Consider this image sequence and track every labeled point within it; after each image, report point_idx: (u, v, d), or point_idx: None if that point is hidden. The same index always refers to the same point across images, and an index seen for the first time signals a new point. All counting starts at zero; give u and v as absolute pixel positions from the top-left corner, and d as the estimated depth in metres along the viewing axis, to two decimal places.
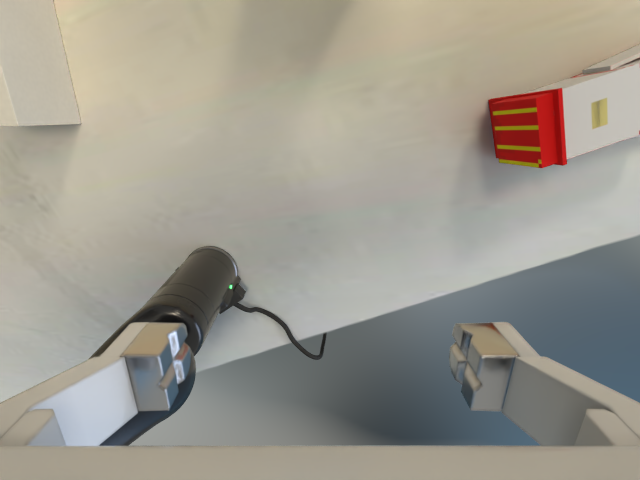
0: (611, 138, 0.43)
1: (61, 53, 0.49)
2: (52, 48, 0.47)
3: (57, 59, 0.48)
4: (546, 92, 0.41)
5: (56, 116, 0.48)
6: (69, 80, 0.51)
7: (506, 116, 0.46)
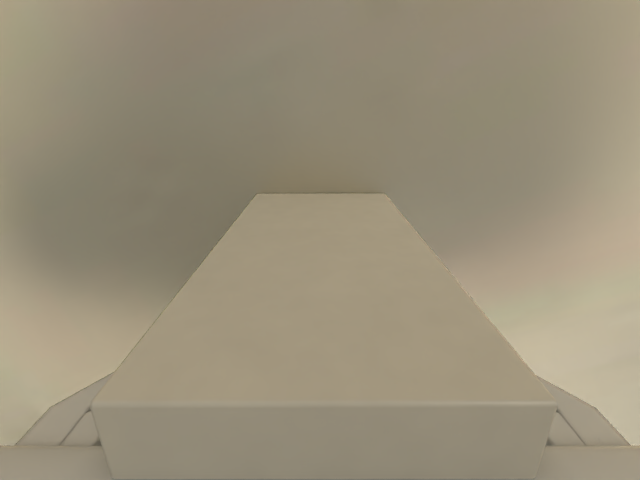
0: None
1: None
2: None
3: None
4: None
5: None
6: None
7: None
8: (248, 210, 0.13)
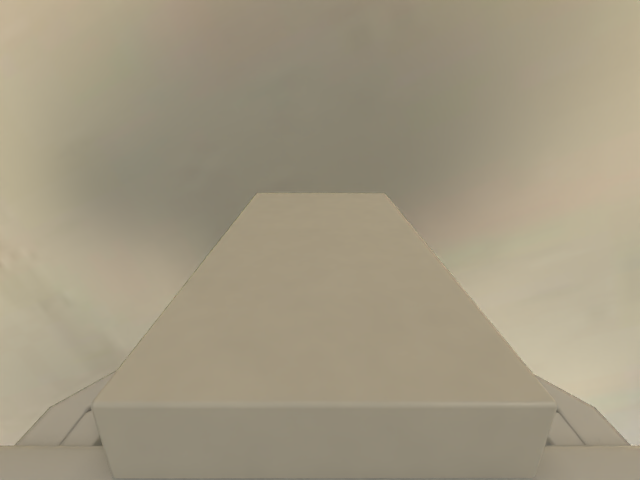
0: None
1: None
2: None
3: None
4: None
5: None
6: None
7: None
8: (248, 210, 0.13)
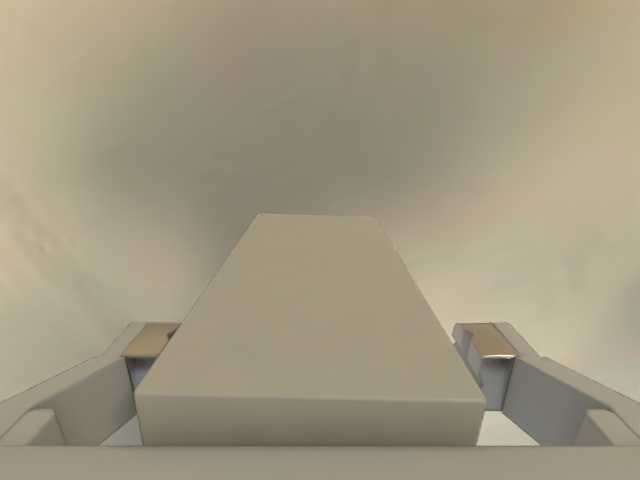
0: None
1: None
2: None
3: None
4: None
5: None
6: None
7: None
8: (251, 230, 0.14)
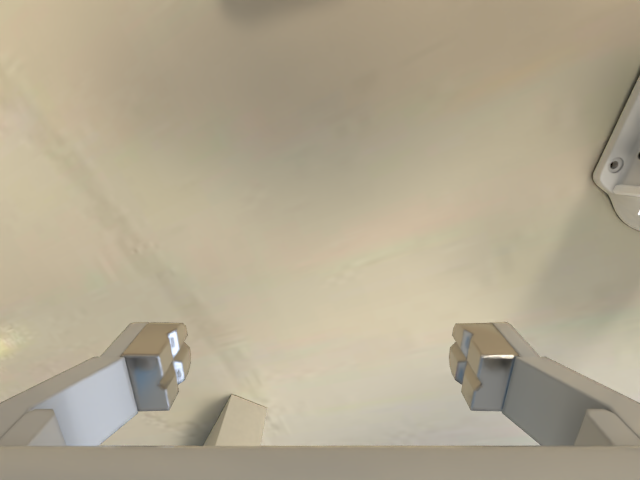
0: None
1: None
2: None
3: None
4: None
5: None
6: None
7: None
8: (227, 410, 0.47)
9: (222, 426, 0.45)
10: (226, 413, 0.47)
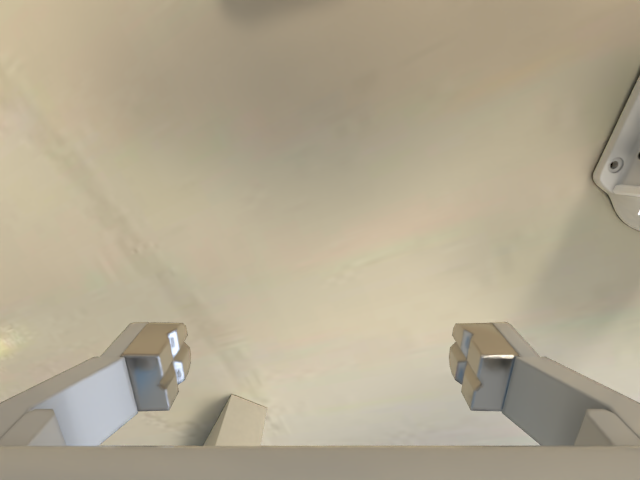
0: None
1: None
2: None
3: None
4: None
5: None
6: None
7: None
8: (227, 410, 0.47)
9: (222, 426, 0.45)
10: (226, 413, 0.47)
